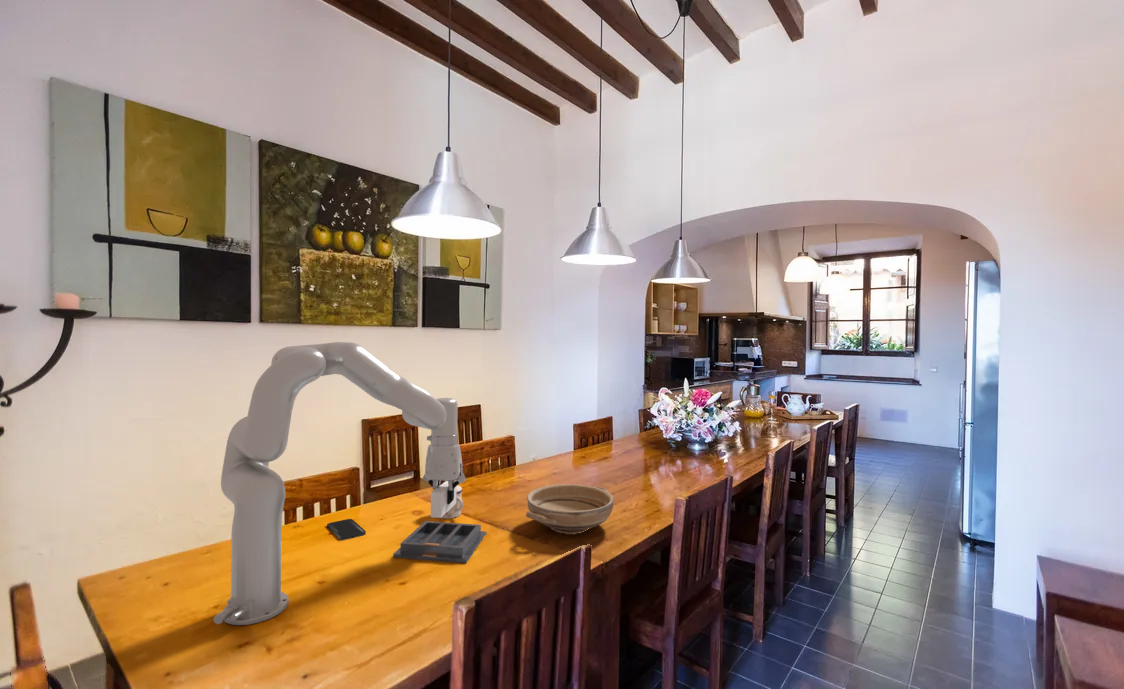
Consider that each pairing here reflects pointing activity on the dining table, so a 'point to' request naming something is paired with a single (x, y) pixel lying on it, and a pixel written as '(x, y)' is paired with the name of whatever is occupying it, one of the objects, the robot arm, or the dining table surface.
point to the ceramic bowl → (570, 507)
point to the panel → (441, 500)
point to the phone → (346, 529)
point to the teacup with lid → (455, 506)
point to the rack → (441, 542)
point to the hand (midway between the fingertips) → (444, 501)
